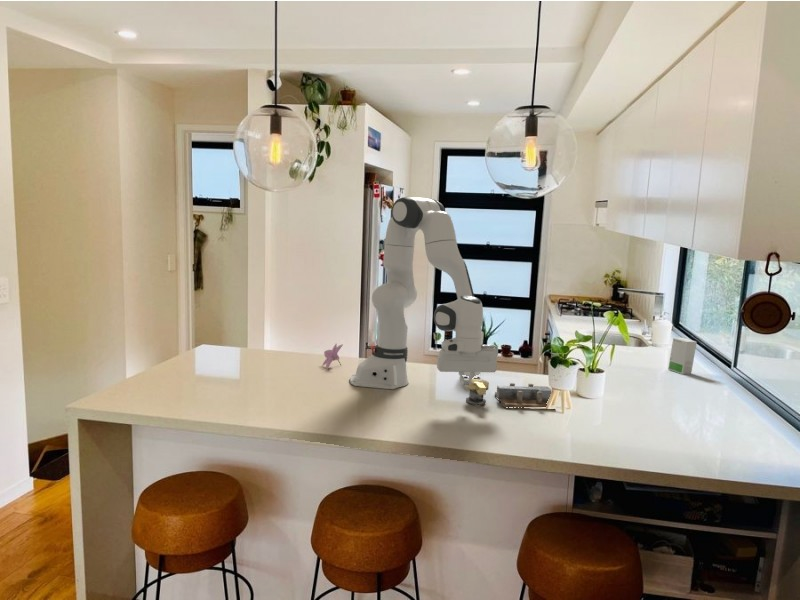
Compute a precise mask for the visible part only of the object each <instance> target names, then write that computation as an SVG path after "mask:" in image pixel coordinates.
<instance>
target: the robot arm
mask: <svg viewBox="0 0 800 600" xmlns="http://www.w3.org/2000/svg"><path fill="white" fill-rule="evenodd" d="M419 230H420V231H422V233H423V237H424V238H423V240H424V247H425V255H426V258H427V260H428V262H429V263H430V265H432V266H433V267H434V268H436V269H438V270H439V271H442V272H444V273H446V274H447V275H449V277H450V278H451V279H452V281H453V285H454V289H455V294H456V298H457V299H456V300H454V301H453V300H452V301H450V302H447V303H442V304H439V305H437V307H436V308H435V310H434V312H433V322H434V324H435V326H436V328H437V329H439V330H440V331H443V332H455V337H453V338H450V339H446V340H443V341H442V342H441V349H440V350H439V352H438V356H437V362H436V368H437V370H438V371H439V372H442V373H448V372H449V373H458V375H459V376H460V379H461V380H460V381H461V382H460V383H461V385H462V386H464V385H465V386H466V385H471V380H472V378H473V377H474V375H475V372H480V373H496V372H497V370H498V361H497V357H498V356H499V350H498V347H497V346H495V345H493V344H483V345H481V342H482V334H481V331H482V327H483V324H484V323H483V322H484V321H483V319H484V308H483V303H482V301H481V299H480V298H478V297H475V294H474V290H473V285H472V281H471V278H470V274H469V270H468V266H467V264H466V262H465V260H464V259H463V257H462V255H461V253H460V250H459V248H458V242H457V235H456V230H455V227H454V223H453V220H452V217H451V215H450V214H449V213H447V212H446V209H445V207H444V205H443V204H442V203H441V202H439V200H435V199H434V198H433V199H432V198H427V197H426V198H425V197H422V196H421V197H420V196H418V197H413V196H412V197H410V196H405V197H400V198H397V199H396V200H395V201H394V202H393V203H392V207H391V218H390V219H389V221H388V223H387V228H386V232H385V238H384V250H383V261H382V264H383V268H384V269H385V273H386V283H383V284H381V285H379V286H378V287H377V288H375V289H374V291H373V292H372V295H371V302H372V305H373V307H374V308H375V311H376V316H377V324H378V335H377V344H375V343H374V344H371V345H370V350H371V355H369V356H368V357H367V358H366V359H364V360H362V361H360V362H359V364H358V365H357V368H356V371H355V373H353V374H352V375H350V377H349V383H350V384H351V385H352V386H355V387H362V388H375V389H385V390H395V389H397V388H401V387H404V386H405V387H406V386H407V385H409V378H408V373H407V372H408V371H407V361H408V345H407V344H408V332H409V331H408V327H409V326H408V325H407V323H406V320H405V309H407V308H409V307H410V306H412V305H413V304H414V302H415V301H416V299H417V296H418V291H417V289H416V286H415V281H414V271H413V270H414V269H413V267H414V266H413V265H414V264H413V262H414V253H415V239H416V234H417V232H418V231H419ZM464 372H469V374H470V376H469V378H464V377H463V376H462V375H464Z"/></svg>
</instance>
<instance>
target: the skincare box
mask: <svg viewBox="0 0 800 600" xmlns="http://www.w3.org/2000/svg"><path fill="white" fill-rule="evenodd" d="M697 343H698V342H697V341H696V340H692V339H690V338H685V337H673V338H672V343H671V348H670V349H671V350H670V355H669V361H668V367H667V369H668V370H669V371H672V372H674V373H678V374H680V375H688V374H689V375H690V374H691V375H692V371H693V365H694V358H695V353H696V348H697Z"/></svg>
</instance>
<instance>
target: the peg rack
mask: <svg viewBox="0 0 800 600" xmlns="http://www.w3.org/2000/svg"><path fill="white" fill-rule="evenodd" d="M515 385H516V384H515V383H514V382H510V383H509V386H515ZM527 387H534V384H533V383H528V385H527ZM495 395H497V391H494V396H495ZM522 396H523V392H522V391H518V393H517V400H510V399H499V400H500V401H501V402H502V404H503V405H504V406H505V408H504V409H507V408H506V407H508V408H509V407H513V408H514V407H516V408H518V407H519V408H521V407H522V408H524V407H546V406H547V404H546V403H547V402H546V401H542V392H537V398H536V400H522ZM499 400H498V401H499ZM500 401H499V402H500ZM502 404H501V405H502ZM503 405H502V406H503ZM504 406H503V407H504Z"/></svg>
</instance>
